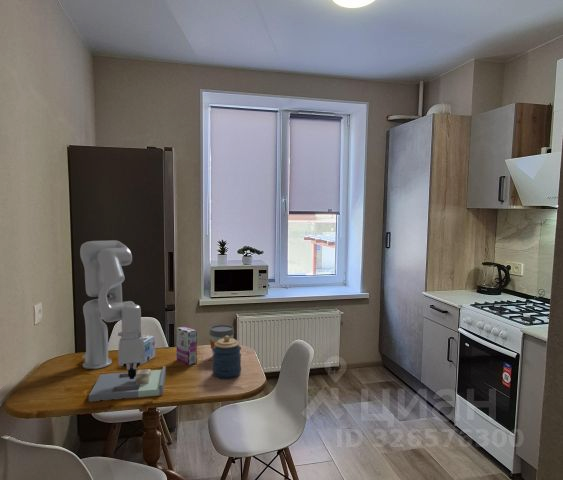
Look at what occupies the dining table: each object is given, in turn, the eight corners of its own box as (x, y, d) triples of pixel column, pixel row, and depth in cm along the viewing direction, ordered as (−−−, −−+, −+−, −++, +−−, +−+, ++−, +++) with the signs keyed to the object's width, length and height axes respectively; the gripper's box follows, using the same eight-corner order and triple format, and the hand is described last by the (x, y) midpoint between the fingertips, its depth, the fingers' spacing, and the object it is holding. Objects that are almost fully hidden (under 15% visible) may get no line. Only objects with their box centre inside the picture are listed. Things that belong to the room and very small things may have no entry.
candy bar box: (197, 363, 189) (197, 330, 188) (188, 365, 185) (188, 332, 185) (184, 357, 197) (184, 325, 196) (176, 360, 193) (175, 327, 192)
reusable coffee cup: (234, 352, 205) (234, 324, 204) (233, 361, 192) (233, 331, 191) (210, 352, 204) (210, 324, 203) (207, 361, 191) (207, 331, 190)
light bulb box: (144, 363, 188) (144, 342, 187) (131, 362, 189) (131, 341, 188) (155, 356, 198) (155, 335, 198) (143, 355, 199) (143, 334, 199)
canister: (216, 381, 168) (216, 341, 167) (209, 370, 180) (209, 333, 179) (244, 376, 173) (244, 338, 172) (236, 366, 185) (236, 330, 184)
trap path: (88, 401, 149) (88, 391, 148) (100, 379, 169) (100, 371, 168) (162, 395, 155) (162, 385, 155) (165, 374, 175) (165, 366, 175)
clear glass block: (135, 383, 159) (135, 374, 159) (138, 378, 164) (138, 369, 164) (148, 383, 160) (148, 373, 160) (150, 378, 165) (150, 369, 165)
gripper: (110, 338, 155) (111, 383, 156) (149, 336, 158) (149, 380, 159) (114, 333, 163) (114, 375, 164) (151, 331, 166) (151, 373, 167)
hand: (132, 377), depth 161 cm, fingers closed
